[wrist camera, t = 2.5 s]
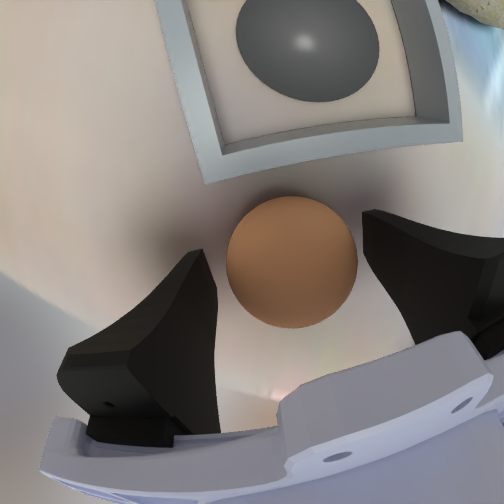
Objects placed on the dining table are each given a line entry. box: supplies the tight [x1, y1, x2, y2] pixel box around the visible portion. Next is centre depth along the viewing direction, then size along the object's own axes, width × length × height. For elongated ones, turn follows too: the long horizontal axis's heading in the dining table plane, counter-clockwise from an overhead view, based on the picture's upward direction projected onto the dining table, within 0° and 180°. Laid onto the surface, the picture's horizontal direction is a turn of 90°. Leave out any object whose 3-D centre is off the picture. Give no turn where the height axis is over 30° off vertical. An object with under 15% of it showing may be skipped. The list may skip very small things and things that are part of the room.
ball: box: [226, 196, 358, 328], centre depth 11 cm, size 5×5×5 cm
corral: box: [155, 0, 463, 185], centre depth 7 cm, size 10×11×2 cm
